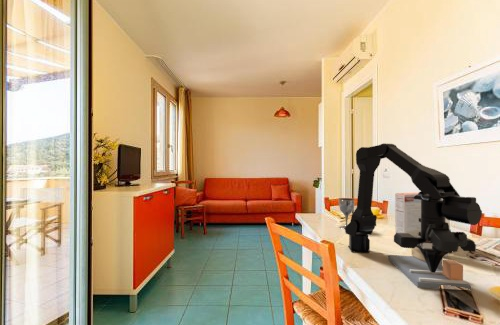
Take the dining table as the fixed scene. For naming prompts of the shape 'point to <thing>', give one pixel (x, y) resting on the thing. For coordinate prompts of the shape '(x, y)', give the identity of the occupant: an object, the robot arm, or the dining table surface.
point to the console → (424, 273)
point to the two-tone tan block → (418, 254)
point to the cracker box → (407, 214)
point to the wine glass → (346, 207)
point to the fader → (452, 270)
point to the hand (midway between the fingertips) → (432, 271)
